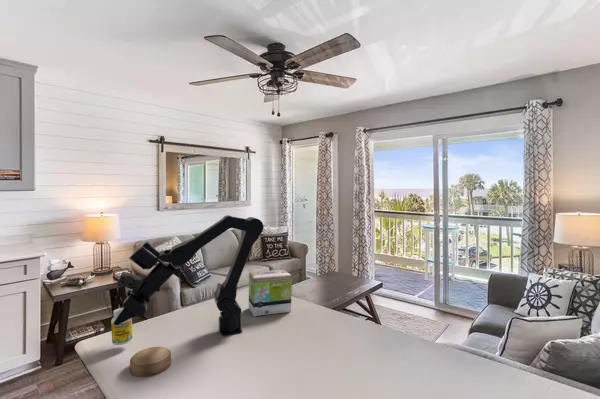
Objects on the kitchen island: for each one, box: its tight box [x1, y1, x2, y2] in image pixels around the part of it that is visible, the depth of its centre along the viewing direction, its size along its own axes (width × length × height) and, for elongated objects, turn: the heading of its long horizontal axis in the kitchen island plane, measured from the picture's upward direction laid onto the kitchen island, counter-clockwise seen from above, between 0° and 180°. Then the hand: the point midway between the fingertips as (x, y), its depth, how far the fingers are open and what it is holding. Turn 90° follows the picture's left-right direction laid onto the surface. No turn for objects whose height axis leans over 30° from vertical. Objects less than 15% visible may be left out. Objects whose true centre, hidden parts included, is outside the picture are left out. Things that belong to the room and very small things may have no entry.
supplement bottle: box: [110, 307, 133, 346], centre depth 95 cm, size 5×5×10 cm
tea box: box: [248, 269, 293, 317], centre depth 125 cm, size 15×10×15 cm
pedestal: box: [129, 346, 172, 378], centre depth 86 cm, size 10×10×3 cm
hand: (116, 320), depth 94 cm, fingers closed on supplement bottle, 5 cm apart
